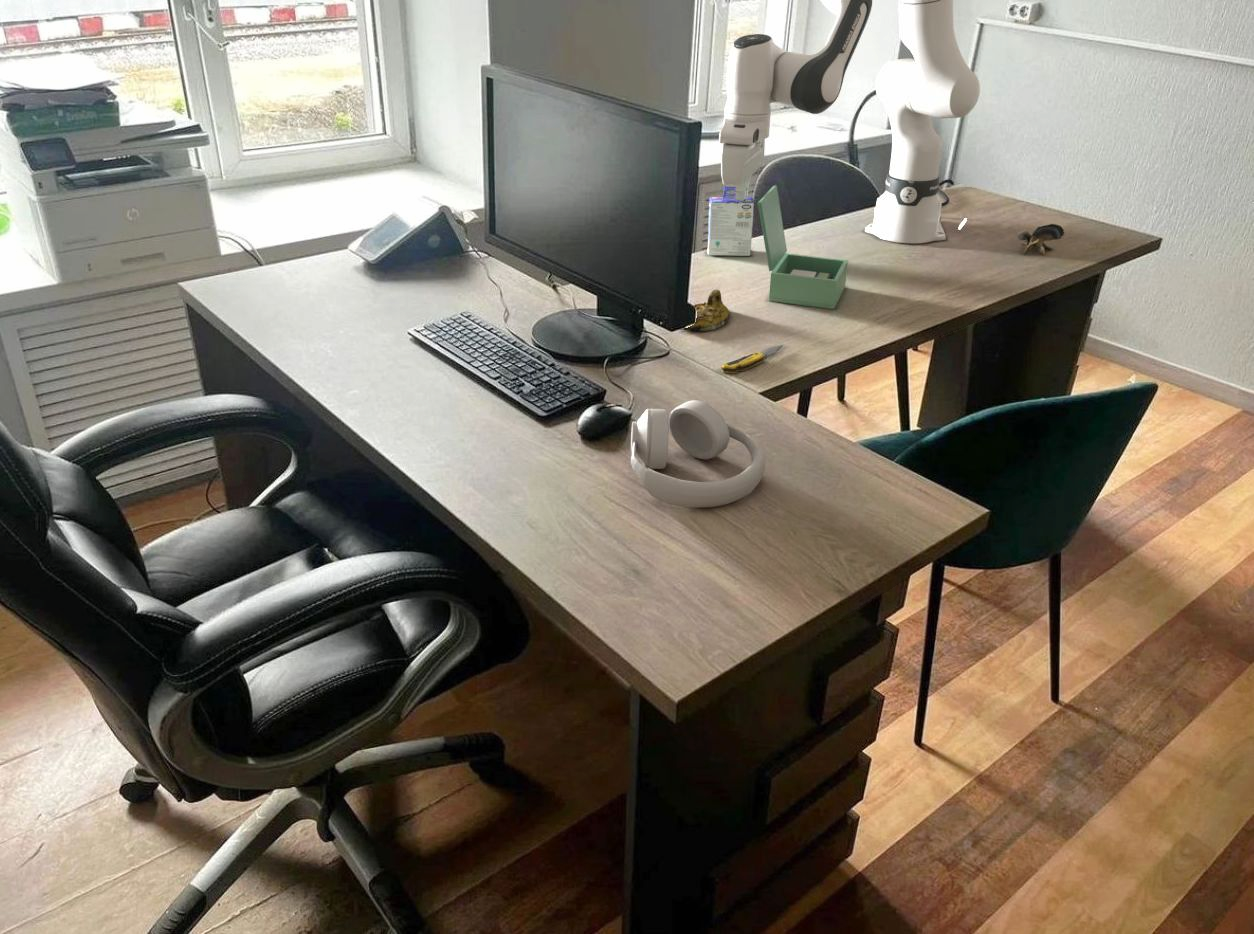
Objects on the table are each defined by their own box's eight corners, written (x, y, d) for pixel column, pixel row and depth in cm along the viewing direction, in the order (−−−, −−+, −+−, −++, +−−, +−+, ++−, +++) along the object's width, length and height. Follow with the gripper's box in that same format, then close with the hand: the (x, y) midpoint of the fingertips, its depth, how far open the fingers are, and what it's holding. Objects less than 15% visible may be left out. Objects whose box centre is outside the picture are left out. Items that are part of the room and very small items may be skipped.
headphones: (603, 448, 145) (661, 534, 131) (606, 404, 140) (666, 488, 126) (715, 426, 151) (782, 505, 137) (721, 382, 147) (791, 460, 132)
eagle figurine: (1046, 256, 223) (1070, 241, 227) (1033, 226, 222) (1058, 212, 226) (1020, 265, 230) (1043, 251, 234) (1007, 237, 229) (1031, 223, 233)
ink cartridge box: (749, 249, 230) (753, 185, 222) (751, 256, 225) (756, 192, 218) (706, 248, 230) (709, 185, 222) (707, 256, 225) (710, 191, 218)
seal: (709, 342, 184) (738, 315, 196) (712, 319, 182) (742, 293, 193) (663, 328, 187) (695, 302, 199) (666, 305, 185) (699, 280, 196)
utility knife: (775, 338, 180) (789, 342, 179) (775, 344, 181) (788, 349, 179) (720, 365, 170) (734, 370, 168) (720, 371, 170) (734, 376, 169)
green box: (845, 287, 208) (848, 260, 205) (833, 309, 197) (837, 281, 194) (782, 279, 211) (785, 253, 209) (768, 300, 200) (770, 273, 197)
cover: (776, 185, 203) (773, 185, 203) (761, 202, 192) (757, 202, 192) (787, 251, 208) (783, 251, 209) (772, 270, 197) (769, 271, 197)
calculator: (784, 291, 203) (785, 275, 201) (789, 283, 207) (790, 268, 205) (826, 296, 200) (827, 280, 199) (830, 288, 204) (832, 273, 203)
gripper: (743, 116, 202) (739, 185, 209) (716, 135, 185) (712, 209, 192) (774, 118, 200) (769, 187, 207) (750, 138, 183) (744, 213, 190)
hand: (741, 198), depth 199 cm, fingers closed
